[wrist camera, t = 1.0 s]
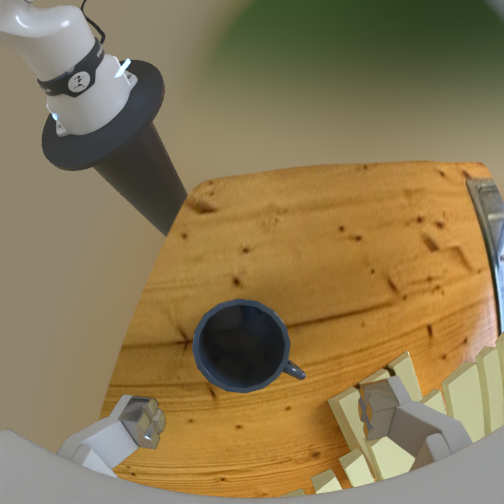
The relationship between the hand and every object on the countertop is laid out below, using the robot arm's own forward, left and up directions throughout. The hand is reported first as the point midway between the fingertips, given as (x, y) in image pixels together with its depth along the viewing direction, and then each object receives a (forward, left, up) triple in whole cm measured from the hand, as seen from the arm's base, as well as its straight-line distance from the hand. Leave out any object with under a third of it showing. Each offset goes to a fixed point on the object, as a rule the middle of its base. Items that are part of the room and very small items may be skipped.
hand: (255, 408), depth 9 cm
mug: (0, 0, -23) cm, 23 cm away
